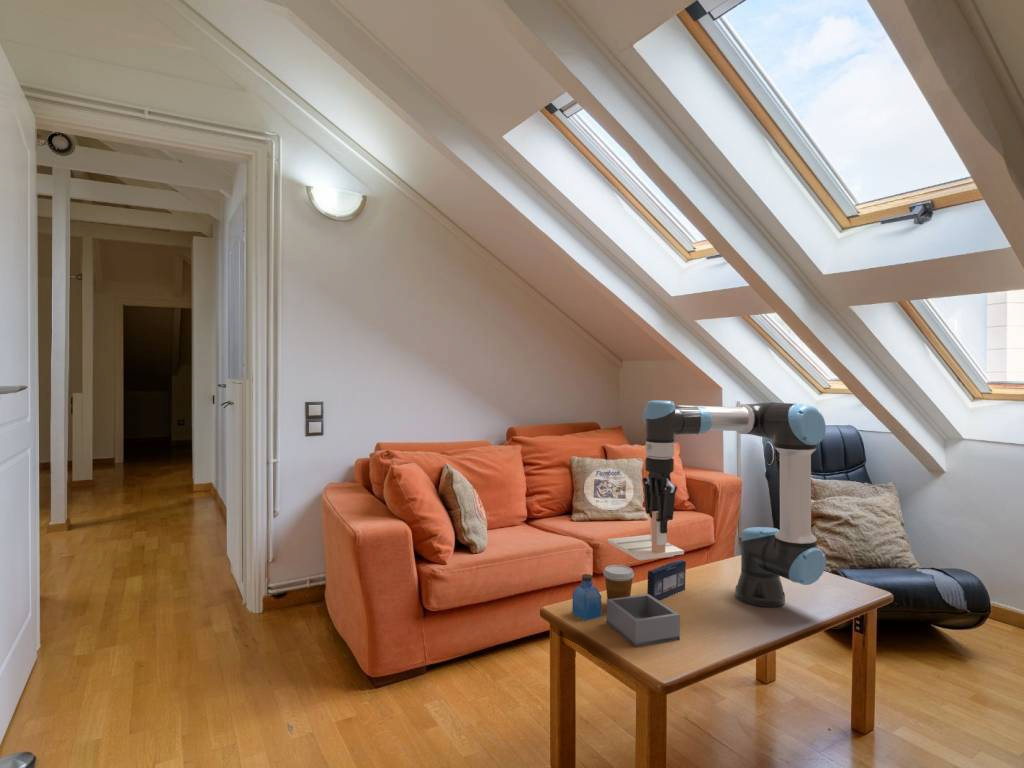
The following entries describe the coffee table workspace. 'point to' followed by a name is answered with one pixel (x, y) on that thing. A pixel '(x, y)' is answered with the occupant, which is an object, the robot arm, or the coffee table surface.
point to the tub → (643, 620)
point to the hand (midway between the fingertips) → (658, 542)
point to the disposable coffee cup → (618, 581)
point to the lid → (646, 544)
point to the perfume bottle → (586, 599)
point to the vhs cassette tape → (667, 580)
